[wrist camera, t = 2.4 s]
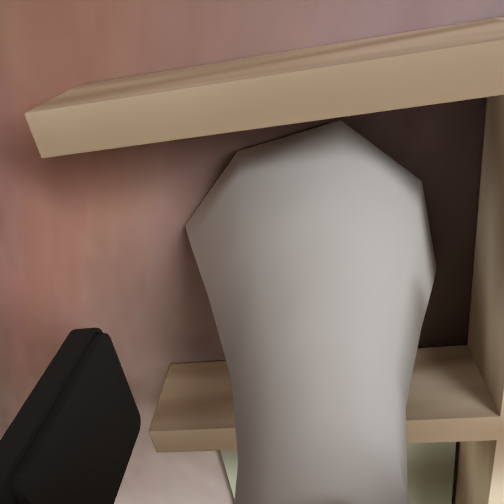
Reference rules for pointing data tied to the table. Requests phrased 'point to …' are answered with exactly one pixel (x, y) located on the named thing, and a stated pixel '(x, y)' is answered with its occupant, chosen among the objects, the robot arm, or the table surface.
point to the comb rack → (311, 109)
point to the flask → (317, 313)
